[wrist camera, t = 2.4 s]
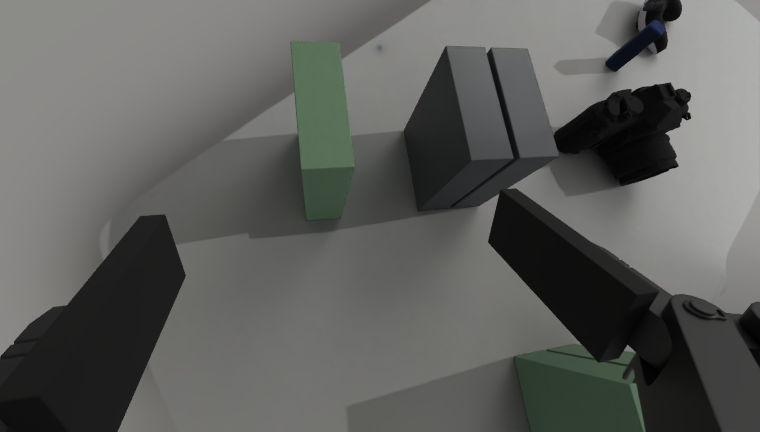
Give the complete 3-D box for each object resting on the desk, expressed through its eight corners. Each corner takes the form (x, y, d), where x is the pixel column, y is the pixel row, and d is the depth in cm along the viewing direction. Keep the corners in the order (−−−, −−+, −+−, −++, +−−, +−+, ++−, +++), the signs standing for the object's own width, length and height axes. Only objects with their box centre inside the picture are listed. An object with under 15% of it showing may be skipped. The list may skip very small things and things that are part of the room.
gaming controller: (647, 20, 55) (650, -24, 51) (681, 15, 52) (689, -33, 48) (628, 59, 52) (631, 14, 47) (665, 55, 49) (671, 7, 44)
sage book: (306, 220, 33) (300, 169, 21) (299, 132, 35) (290, 40, 23) (340, 218, 34) (354, 166, 21) (331, 132, 36) (339, 42, 24)
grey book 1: (417, 211, 36) (471, 160, 23) (403, 130, 38) (445, 45, 26) (447, 208, 36) (514, 158, 24) (431, 129, 39) (485, 46, 27)
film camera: (573, 198, 40) (643, 168, 32) (545, 128, 42) (603, 83, 34) (663, 176, 44) (747, 145, 35) (633, 114, 46) (705, 70, 37)
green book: (538, 468, 31) (685, 574, 19) (513, 356, 33) (629, 384, 21) (569, 458, 32) (731, 555, 19) (543, 350, 34) (671, 374, 22)
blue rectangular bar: (603, 63, 47) (649, 25, 41) (610, 55, 48) (656, 17, 42) (614, 73, 47) (661, 36, 41) (621, 65, 48) (668, 28, 42)
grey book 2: (451, 208, 36) (520, 158, 24) (435, 129, 39) (490, 47, 27) (479, 206, 37) (560, 156, 25) (462, 128, 40) (528, 48, 27)
